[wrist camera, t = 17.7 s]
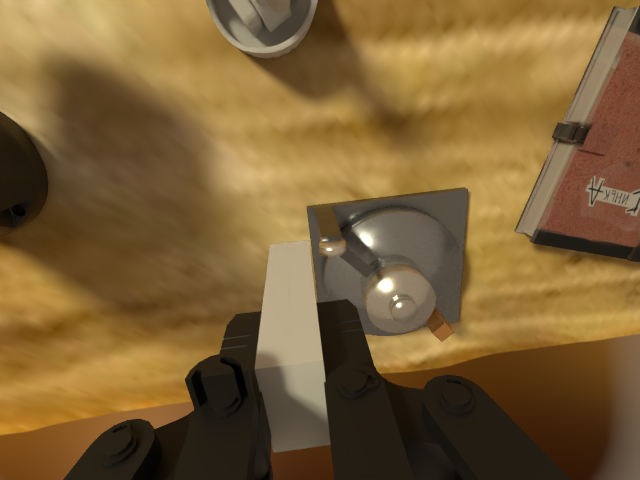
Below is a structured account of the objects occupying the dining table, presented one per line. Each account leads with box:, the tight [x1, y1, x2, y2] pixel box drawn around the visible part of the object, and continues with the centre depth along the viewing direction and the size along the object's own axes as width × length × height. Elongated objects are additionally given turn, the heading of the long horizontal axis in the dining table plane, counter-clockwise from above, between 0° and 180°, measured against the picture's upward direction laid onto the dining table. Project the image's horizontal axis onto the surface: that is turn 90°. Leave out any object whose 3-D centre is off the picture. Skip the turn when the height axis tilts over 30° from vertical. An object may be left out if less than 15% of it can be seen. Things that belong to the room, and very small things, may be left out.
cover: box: [360, 255, 436, 333], centre depth 42 cm, size 8×8×6 cm
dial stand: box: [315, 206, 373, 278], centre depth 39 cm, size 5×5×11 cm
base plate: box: [307, 187, 468, 334], centre depth 48 cm, size 20×20×1 cm
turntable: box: [323, 207, 463, 342], centre depth 44 cm, size 18×18×6 cm
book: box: [515, 6, 640, 262], centre depth 42 cm, size 26×18×5 cm
